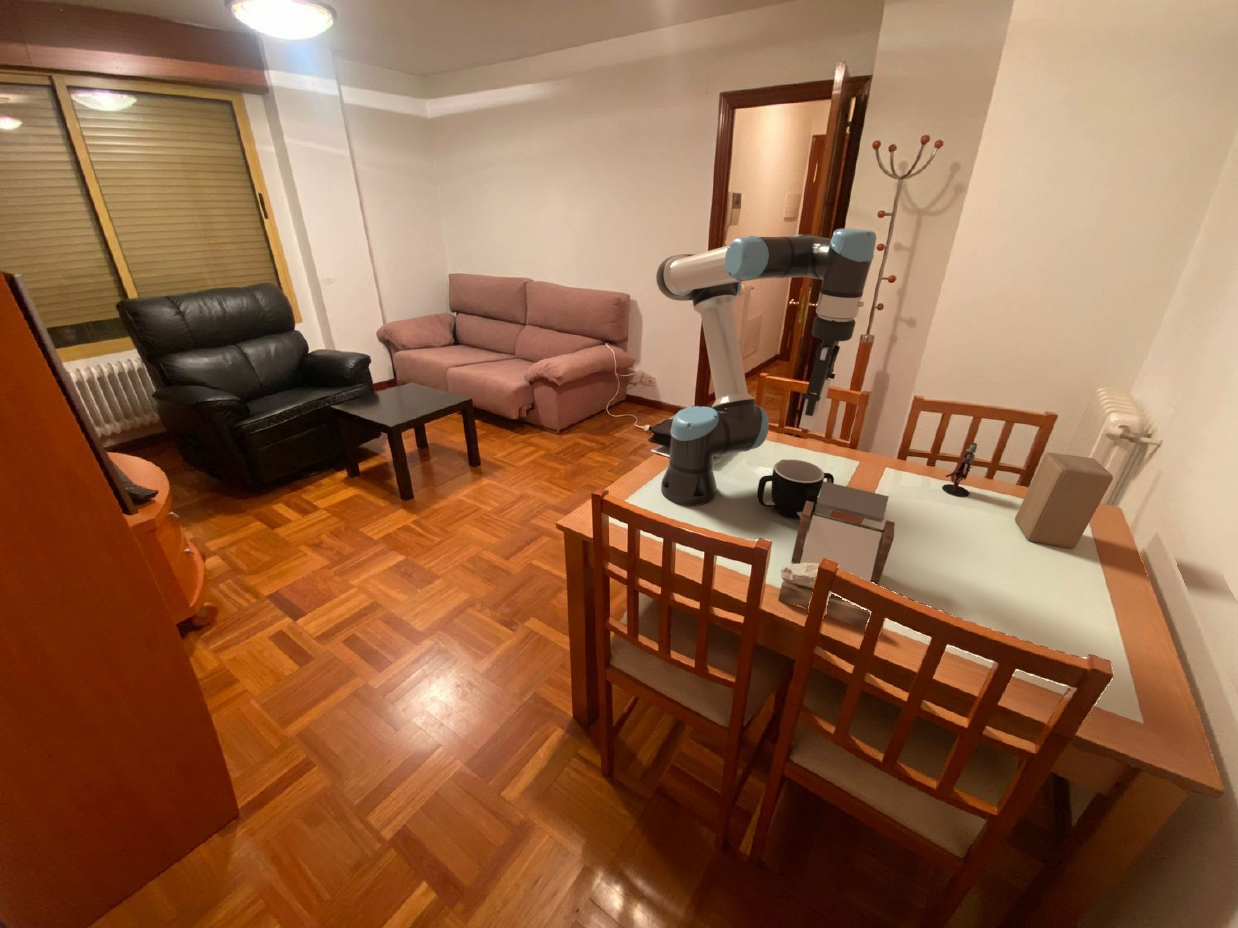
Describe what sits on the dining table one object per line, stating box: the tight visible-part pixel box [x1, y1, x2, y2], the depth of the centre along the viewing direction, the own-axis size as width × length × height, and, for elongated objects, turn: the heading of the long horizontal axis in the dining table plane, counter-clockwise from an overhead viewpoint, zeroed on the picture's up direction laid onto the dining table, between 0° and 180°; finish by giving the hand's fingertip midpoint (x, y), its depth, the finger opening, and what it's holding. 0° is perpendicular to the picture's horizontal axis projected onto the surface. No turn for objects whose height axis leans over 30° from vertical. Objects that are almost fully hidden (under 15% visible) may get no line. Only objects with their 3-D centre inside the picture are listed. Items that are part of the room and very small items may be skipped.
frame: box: [777, 501, 895, 630], centre depth 102 cm, size 18×20×13 cm
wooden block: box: [1014, 452, 1114, 549], centre depth 118 cm, size 10×10×20 cm
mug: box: [756, 459, 835, 521], centre depth 128 cm, size 16×16×12 cm
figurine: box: [941, 442, 978, 498], centre depth 137 cm, size 7×7×15 cm
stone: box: [780, 562, 844, 601], centre depth 99 cm, size 8×12×10 cm
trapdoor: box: [799, 480, 889, 582], centre depth 105 cm, size 13×19×3 cm
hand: (811, 417), depth 107 cm, fingers open, 13 cm apart
